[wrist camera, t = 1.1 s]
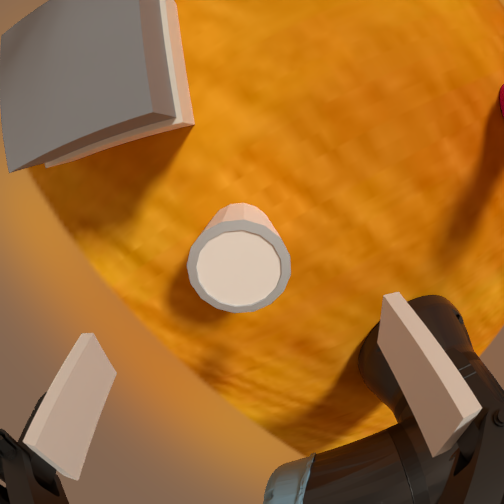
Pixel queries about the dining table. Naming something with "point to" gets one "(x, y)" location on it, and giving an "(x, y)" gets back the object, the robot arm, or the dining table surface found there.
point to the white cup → (239, 260)
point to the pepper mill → (502, 99)
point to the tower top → (81, 77)
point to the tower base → (177, 84)
